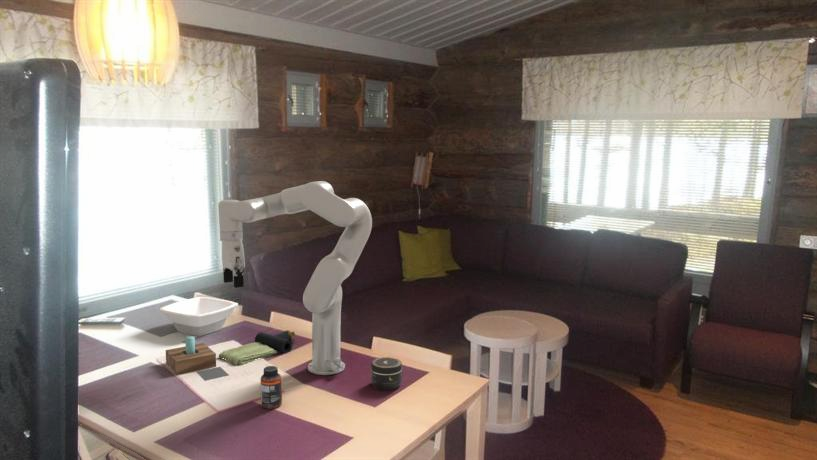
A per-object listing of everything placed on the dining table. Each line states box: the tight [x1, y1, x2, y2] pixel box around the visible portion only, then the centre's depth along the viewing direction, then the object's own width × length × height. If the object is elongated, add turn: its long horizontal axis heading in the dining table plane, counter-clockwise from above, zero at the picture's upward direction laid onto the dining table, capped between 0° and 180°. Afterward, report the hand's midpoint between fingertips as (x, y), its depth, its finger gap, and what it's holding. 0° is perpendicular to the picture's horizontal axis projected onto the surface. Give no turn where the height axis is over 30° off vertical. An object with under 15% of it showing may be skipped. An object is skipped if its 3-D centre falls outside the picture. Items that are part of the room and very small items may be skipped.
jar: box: [370, 356, 403, 391], centre depth 185 cm, size 10×10×8 cm
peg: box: [184, 335, 196, 355], centre depth 198 cm, size 3×3×10 cm
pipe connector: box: [254, 329, 296, 354], centre depth 219 cm, size 12×5×15 cm
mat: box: [196, 366, 230, 381], centre depth 191 cm, size 9×8×1 cm
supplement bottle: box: [260, 365, 283, 410], centre depth 168 cm, size 6×6×11 cm
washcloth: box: [218, 341, 278, 366], centre depth 208 cm, size 13×18×3 cm
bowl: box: [158, 296, 239, 337], centre depth 237 cm, size 24×25×10 cm
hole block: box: [165, 342, 217, 376], centre depth 198 cm, size 13×13×5 cm
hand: (233, 284), depth 200 cm, fingers open, 9 cm apart
